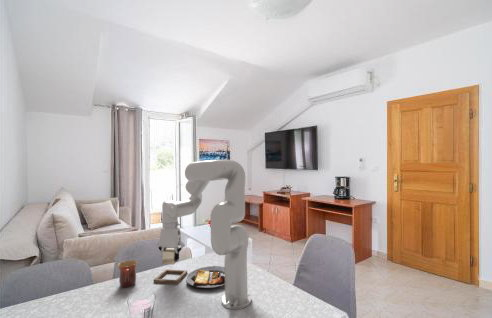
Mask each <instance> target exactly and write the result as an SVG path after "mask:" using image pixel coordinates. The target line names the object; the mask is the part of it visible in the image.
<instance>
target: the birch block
mask: <svg viewBox="0 0 492 318" xmlns="http://www.w3.org/2000/svg"><path fill="white" fill-rule="evenodd" d="M161 258H162V259H161V261H162V262H161V263H162V265H172V266H173V265H175V264H176V263H177V262H178V261H179V260H180V258H179V259H178V260H177V261H175V250H174V248H166V250H164V251H163V252H162V253H161Z"/></svg>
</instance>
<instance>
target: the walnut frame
mask: <svg viewBox="0 0 492 318" xmlns="http://www.w3.org/2000/svg"><path fill="white" fill-rule="evenodd" d="M171 273H172V274H174V275H179V276H178V277H177V278H176V279H166V278H164V279H163V277H165V275H167V274H171ZM187 275H188V270H183V269H167V268H166V269H164V270H163V271H162V272H161V273H159V275H157V276H156V277H154V279H153V284H167V285H178V284H179V283H180V282H181V281H182V280H183V279H184V278H185V277H186V276H187Z"/></svg>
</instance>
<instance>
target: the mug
mask: <svg viewBox="0 0 492 318" xmlns="http://www.w3.org/2000/svg"><path fill="white" fill-rule="evenodd" d="M137 264H138V261H137V260H136V259H134V260H133V259H132V260H131V259H130V260H124V261H120V262H119V263H117V269H118V273H119V279H118V283H119V286H120V287H121V288H129V287H133V286H134V285H135V284H136V282H137Z"/></svg>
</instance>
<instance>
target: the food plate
mask: <svg viewBox="0 0 492 318" xmlns="http://www.w3.org/2000/svg"><path fill="white" fill-rule="evenodd" d="M210 272H213V273H210ZM218 272H219V273H218ZM222 273H223V274H224V275H221V274H222ZM220 275H221V276H220ZM185 283H186V284H188V285H189V286H191V287H194V288H198V289H199V288H200V289H214V288H215V289H216V288H218V287H225V266H220V265H219V266H217V265H213V266H205V267H199V268H196V269H193V270H192V271H191V272H189V273H188V274H187V277H186V280H185Z"/></svg>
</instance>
